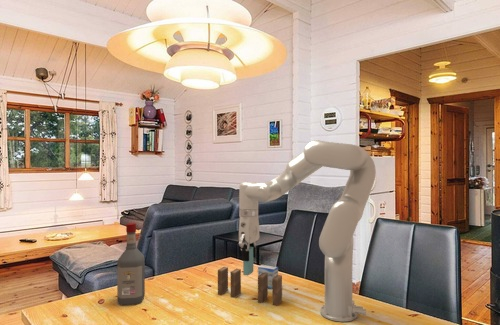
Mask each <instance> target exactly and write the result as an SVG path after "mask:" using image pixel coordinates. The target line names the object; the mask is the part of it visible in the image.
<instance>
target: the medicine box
mask: <svg viewBox="0 0 500 325" xmlns="http://www.w3.org/2000/svg"><path fill="white" fill-rule="evenodd" d="M262 273H268V290H272V279H273V278H274V277H275V276H276V275H279V267H278V266H272V265H265V264H261V265H259V266H258V267H257V277H258V276H259V275H260V274H262Z"/></svg>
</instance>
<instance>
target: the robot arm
mask: <svg viewBox="0 0 500 325" xmlns="http://www.w3.org/2000/svg"><path fill="white" fill-rule="evenodd" d="M322 167H323V168H325V167H326V168H333V169H338V170H346V171H349V172H350V173H349V177H348V179H347V181H346V184H345V187H344V189H343V192H342V194H341V196H340V198H339V199H338V200H337V201H335V202H334V204H333V205H332V206H331V208H330V209H329V212H328V215H327V217H326V220H325V222H324V224H323V227H322V230H321V232H320V236H319V238H318V239H319V240H318V246H319V249H320V251H321V252H322V254H323V255H324V305H322V306H321V307H320V310H319V311H320V315H321V316H322V317H324V318H325V319H328V320H330V321H333V322H340V323H341V322H342V323H344V322H352V321H354V320H356V319H357V318H358V315H363V316H366V312H367V311H366V308H364V306H361V305H357V304H355V300H353V261H354V260H353V257H354V254H353V253H354V234H355V231H356V228H357V226H358V223H359V221H360V220H361V219H362V217H363V215H364V211H365V208H366V205H367V203H368V200H369V198H370V195H371V192H372V189H373V187H374V183H375V180H376V175H377V174H376V173H377V172H376V165H375V161H374V160H373V158H372V156H371V155H370V154H369V153H368V151H367V150H366V149H364V148H363V147H362V146H359V145H356V144H351V143H343V142H342V143H339V142H332V141H331V142H330V141H324V140H312V141H309V142H308V143H307V144H306V145H305V146H304V149H303V151H302V152H301V153H299V154H298V155H297V156H295V157H294V158H292V159H291V160H290V161H288V163H287V164H286V168H284V171H282V172H281V173H280V174H279V175H277V176H276V177H275V178H273V179H271V180H270V181H265V182H256V181H255V182H254V181H243V182H240V184H239V190H238V192H239V193H238V194H239V197H238V198H239V200H238V201H239V205H238V206H239V210H238V211H239V213H238V214H239V221H238V222H239V223H238V224H239V225H238V241H239V242H238V246H239V247H240V251H241V255H240V256H241V257H240V258H241V261H249V251H248V249H249V247H254V248H253V259H255V258H256V255H257V254H256V250H257V248H256V246H257V241H258V240H259V239H260V221H259V202H260V203H268V202H271V201H275V200H277V199H279V198H280V197H282V196H284V195H285V194H286V193H287V192H290V191H291V190H293V188H295V187H296V186H297V185H299V184H301V182H302V181H304V180H305V179H306V178H309V176H311V175H313V174H314V173H315V172H316V171H318V170H320V169H321V168H322Z"/></svg>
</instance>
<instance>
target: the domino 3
mask: <svg viewBox="0 0 500 325" xmlns="http://www.w3.org/2000/svg"><path fill="white" fill-rule="evenodd" d="M253 248H254V247H249V249H248V251H249V261H243V264H242V265H243V268H242V270H243V271H242V272H243V274H242V275H243V276H250V275H251V274H252V273H254V258H253Z"/></svg>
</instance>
